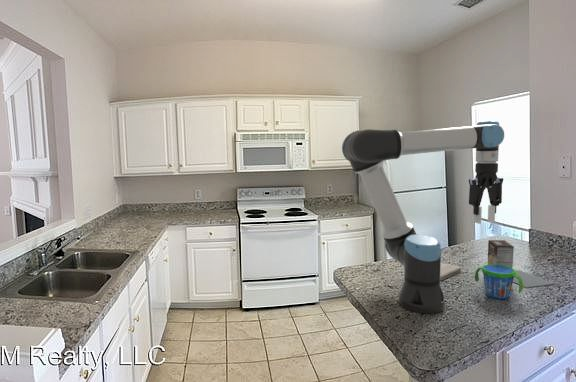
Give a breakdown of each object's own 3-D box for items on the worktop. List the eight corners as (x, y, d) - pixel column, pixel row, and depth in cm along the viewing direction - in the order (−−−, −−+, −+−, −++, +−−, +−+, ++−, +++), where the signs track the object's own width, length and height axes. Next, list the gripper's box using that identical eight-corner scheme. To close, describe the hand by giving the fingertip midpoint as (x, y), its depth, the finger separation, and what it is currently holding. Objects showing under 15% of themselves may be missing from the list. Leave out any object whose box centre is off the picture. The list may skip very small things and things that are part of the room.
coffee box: (486, 277, 147) (487, 239, 146) (503, 278, 146) (504, 239, 144) (494, 285, 138) (496, 245, 137) (512, 286, 137) (514, 246, 135)
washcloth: (462, 272, 156) (463, 265, 155) (441, 282, 145) (441, 275, 144) (437, 265, 165) (437, 259, 165) (415, 275, 154) (415, 268, 154)
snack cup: (468, 291, 134) (469, 265, 132) (484, 285, 139) (485, 260, 138) (512, 307, 120) (513, 278, 119) (528, 299, 126) (529, 271, 124)
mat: (526, 287, 136) (526, 287, 136) (493, 273, 151) (493, 273, 151) (554, 284, 138) (554, 283, 138) (519, 270, 154) (519, 270, 154)
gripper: (472, 163, 130) (470, 226, 132) (515, 161, 133) (512, 222, 136) (458, 163, 137) (457, 222, 140) (499, 161, 141) (497, 219, 143)
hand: (484, 222), depth 138 cm, fingers open, 5 cm apart
